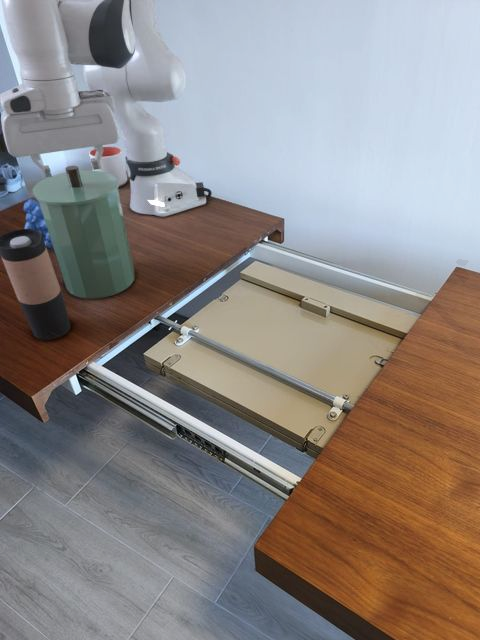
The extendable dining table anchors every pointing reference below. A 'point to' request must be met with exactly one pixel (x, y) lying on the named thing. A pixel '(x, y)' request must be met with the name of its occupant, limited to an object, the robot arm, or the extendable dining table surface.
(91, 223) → the pot
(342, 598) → the extendable dining table surface
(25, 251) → the travel mug
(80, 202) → the lid
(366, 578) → the extendable dining table surface
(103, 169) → the cup
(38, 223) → the grapes
